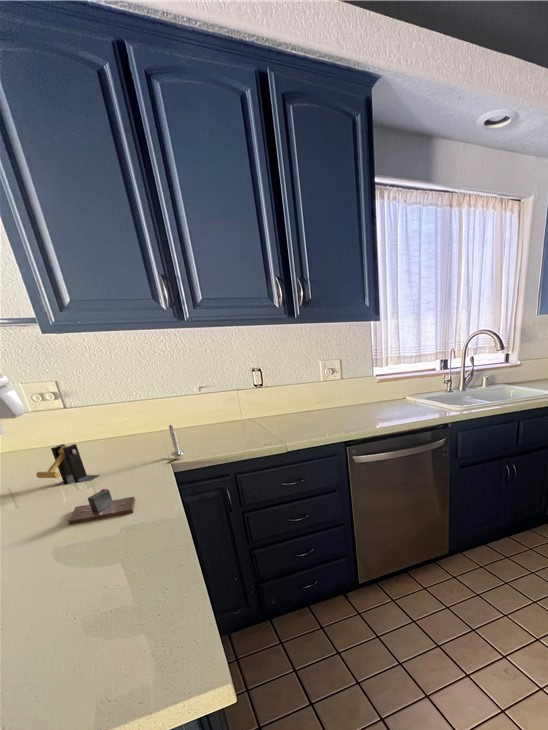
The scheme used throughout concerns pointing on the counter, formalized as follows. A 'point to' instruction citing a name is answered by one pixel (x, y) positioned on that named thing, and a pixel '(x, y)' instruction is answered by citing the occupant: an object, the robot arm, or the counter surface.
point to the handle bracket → (71, 466)
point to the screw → (175, 445)
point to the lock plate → (102, 511)
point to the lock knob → (100, 500)
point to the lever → (53, 467)
